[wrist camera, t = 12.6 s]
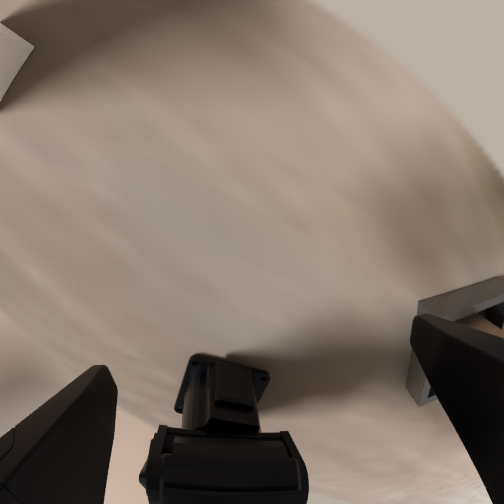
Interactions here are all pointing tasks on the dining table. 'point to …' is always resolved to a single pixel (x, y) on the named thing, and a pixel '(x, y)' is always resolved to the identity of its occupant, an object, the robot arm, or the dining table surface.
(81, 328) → the dining table surface
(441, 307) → the tray
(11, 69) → the milk
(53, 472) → the robot arm
